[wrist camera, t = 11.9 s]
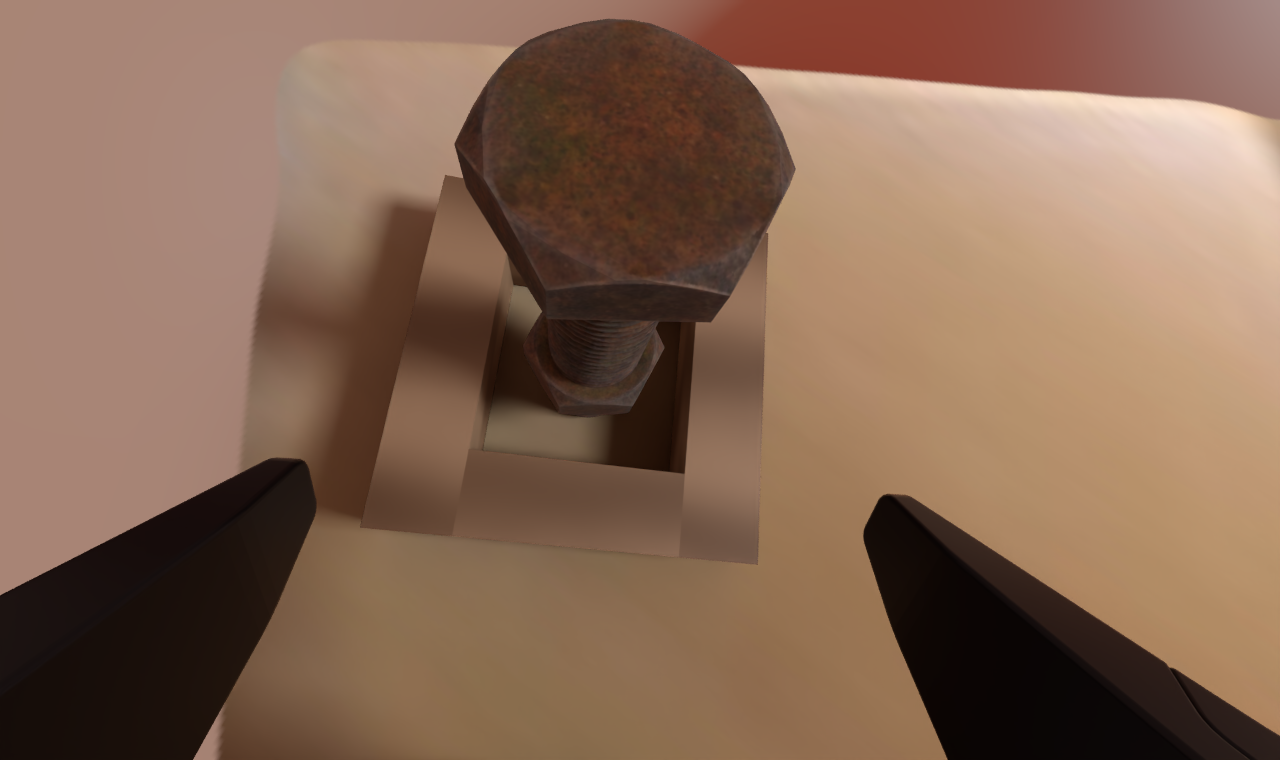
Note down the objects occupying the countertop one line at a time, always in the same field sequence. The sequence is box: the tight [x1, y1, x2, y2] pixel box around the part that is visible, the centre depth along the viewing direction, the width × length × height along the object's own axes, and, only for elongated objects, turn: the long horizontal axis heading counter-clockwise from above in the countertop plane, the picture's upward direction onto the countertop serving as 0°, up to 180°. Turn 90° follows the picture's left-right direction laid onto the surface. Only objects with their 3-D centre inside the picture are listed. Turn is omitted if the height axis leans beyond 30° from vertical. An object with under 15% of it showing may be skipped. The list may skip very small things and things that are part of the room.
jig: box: [360, 175, 768, 565], centre depth 21 cm, size 14×14×3 cm
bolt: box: [455, 19, 795, 417], centre depth 15 cm, size 6×5×15 cm
